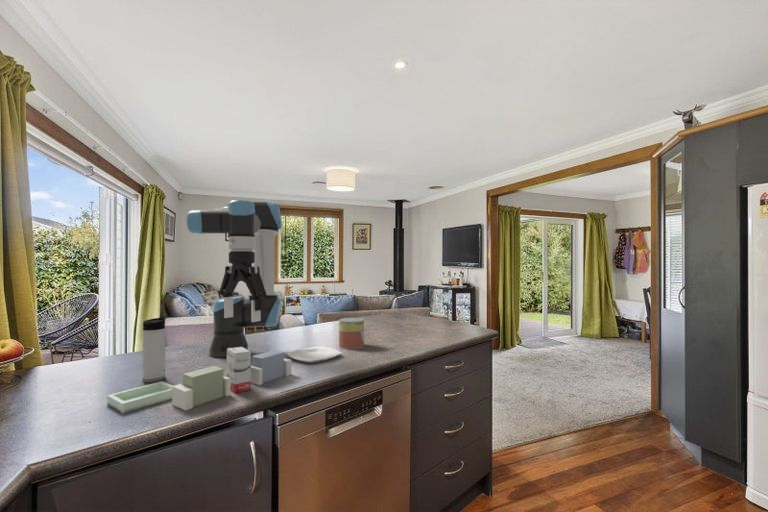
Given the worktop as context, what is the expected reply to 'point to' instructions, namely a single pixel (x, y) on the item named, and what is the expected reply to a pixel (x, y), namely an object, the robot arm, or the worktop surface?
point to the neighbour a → (205, 384)
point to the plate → (314, 354)
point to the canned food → (351, 333)
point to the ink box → (239, 368)
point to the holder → (184, 395)
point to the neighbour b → (270, 364)
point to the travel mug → (154, 349)
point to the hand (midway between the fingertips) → (241, 319)
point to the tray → (140, 397)
